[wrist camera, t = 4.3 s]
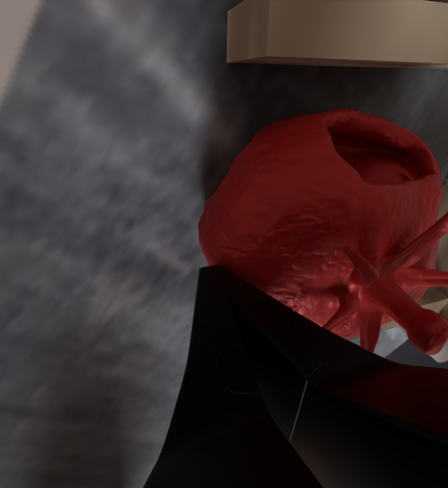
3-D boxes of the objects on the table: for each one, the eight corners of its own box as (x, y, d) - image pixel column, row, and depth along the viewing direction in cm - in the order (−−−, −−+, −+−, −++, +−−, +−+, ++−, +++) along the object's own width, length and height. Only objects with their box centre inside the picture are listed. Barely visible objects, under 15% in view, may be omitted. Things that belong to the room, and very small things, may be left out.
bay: (544, 38, 14) (755, 17, 9) (406, 308, 24) (474, 363, 20) (227, 11, 9) (329, -58, 5) (222, 359, 20) (253, 447, 15)
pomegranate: (264, 300, 18) (360, 462, 11) (143, 217, 12) (168, 441, 5) (383, 195, 16) (603, 302, 9) (305, 40, 10) (742, -31, 3)
